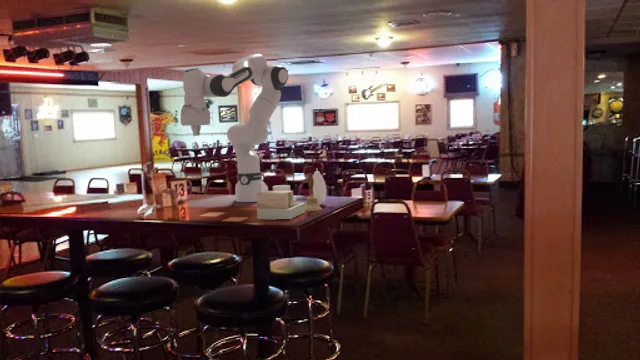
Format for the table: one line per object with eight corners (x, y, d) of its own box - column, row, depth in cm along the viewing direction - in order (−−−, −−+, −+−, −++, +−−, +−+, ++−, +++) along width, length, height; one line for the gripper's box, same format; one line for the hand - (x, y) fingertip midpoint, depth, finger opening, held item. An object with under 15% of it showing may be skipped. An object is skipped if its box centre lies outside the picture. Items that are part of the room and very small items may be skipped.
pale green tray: (274, 212, 239) (273, 202, 239) (304, 212, 235) (304, 203, 234) (257, 219, 222) (256, 209, 222) (289, 219, 218) (289, 209, 217)
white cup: (274, 209, 246) (273, 187, 245) (272, 207, 254) (271, 185, 253) (292, 208, 248) (291, 186, 247) (289, 206, 255) (288, 184, 254)
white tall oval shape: (325, 205, 251) (323, 166, 250) (308, 206, 253) (306, 166, 251) (328, 203, 259) (326, 165, 257) (311, 203, 261) (310, 165, 259)
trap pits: (210, 212, 244) (210, 212, 244) (260, 213, 237) (260, 212, 237) (186, 220, 226) (186, 219, 226) (240, 221, 218) (240, 220, 218)
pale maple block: (265, 214, 235) (264, 190, 234) (294, 214, 231) (293, 190, 230) (257, 217, 227) (256, 193, 226) (287, 217, 223) (286, 193, 222)
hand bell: (309, 212, 235) (308, 174, 234) (299, 210, 242) (297, 173, 240) (325, 209, 240) (324, 173, 239) (314, 207, 247) (313, 172, 245)
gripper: (188, 103, 237) (190, 136, 238) (211, 104, 256) (213, 134, 257) (175, 104, 239) (177, 136, 240) (199, 105, 258) (201, 135, 259)
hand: (196, 135), depth 249 cm, fingers closed
